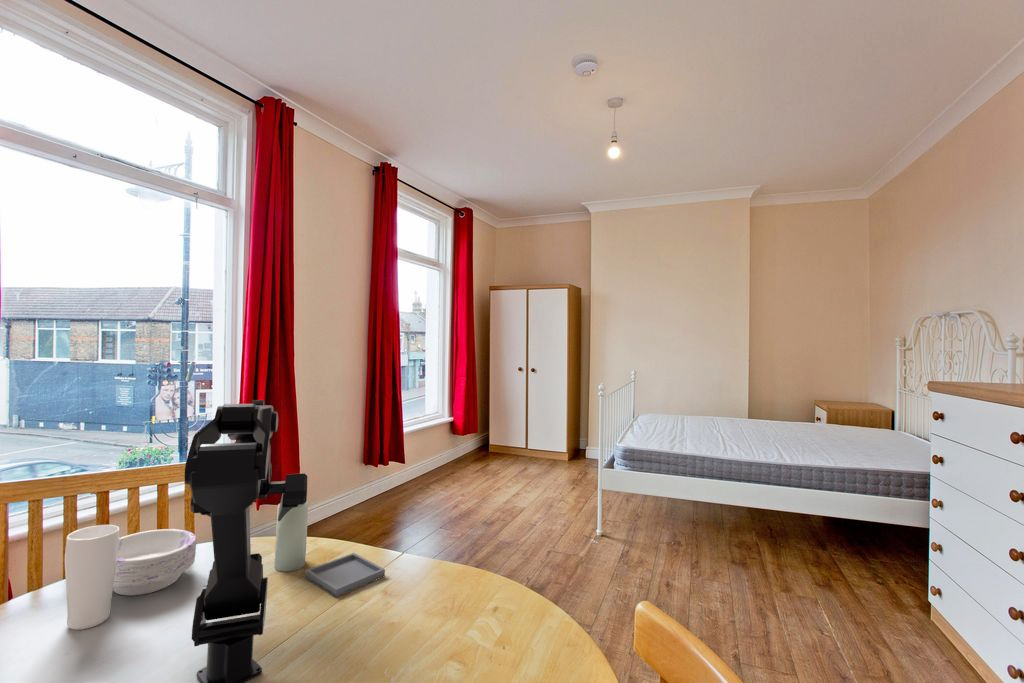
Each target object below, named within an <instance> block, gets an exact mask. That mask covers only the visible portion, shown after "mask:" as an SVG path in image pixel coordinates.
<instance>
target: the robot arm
mask: <svg viewBox="0 0 1024 683" xmlns="http://www.w3.org/2000/svg"><path fill="white" fill-rule="evenodd" d="M278 427H279V413H278V411H274V406H273V405H268V404H265V400H264V399H253V400H252V403H224V404H223V405H218V406H217V408H216V411H215V414H214V418H213V419H212V420H211V421H210V422H208V423H206V425H204V426H203V427H202V428H201V429H199V430H198V431H197V432H196V433H195V434H194V435H193V437H192V441H191V444H190V446H189V451H188V454H187V457H186V461H185V467H184V483H185V485H189V488H190V492H191V497H190V498H191V499H190V505H189V506H190V512H192V513H193V514H200V515H201V516H207V517H210V523H211V534H212V535H211V536H212V547H213V550H212V551H213V562H212V567H211V569H210V570H209V572H208V573H209V574H208V578H207V584H206V585H203V587H202V590H201V591H200V594H199V595H198V596H197V597H196V601H195V607H194V612H193V619H192V627H191V628H192V629H191V640H192V642H193V646H194V648H195V647H199V646H201V645H207V654H206V655H207V657H206V666H205V667H202V668H201V669H199V670H197V671H196V678H198V680H199V681H200V683H245V682H247V681H248V680H250V679H253V678H254V677H256V676H259V675H260V674H262V673H263V667H261V665H260V664H259V663H258V662H257V661H255V659H254V658H253V656H254V655H253V654H254V637H255V636H256V635H257V636H261V635H263V634H264V628H265V624H266V623H265V622H266V613H267V612H266V610H267V599H268V598H267V597H268V585H269V584H268V582H269V581H268V578H269V577H268V576H267V577H264V564H263V562H262V561H263V556H262V555H261V554H260V553H259V552H258V553H251V552H252V550H251V549H252V548H251V522H250V521H251V514H250V513H251V512H250V511H251V510H250V508H251V505H252V504H253V503H254V502H256V501H257V500H262V499H263V500H264V499H265V500H266V499H267V498H266V497H267V495H280V494H282V495H281V499H280V503H279V504H280V507H279V511H278V521H280V520H281V519H282V518H283V517H284V516H285V514H286V513H287V512H288V511H290V510H291V509H292V508H293V507H297V506H298V505H301V504H304V503H305V502H306V501H307V500H308V498H307V497H308V475H307V474H306V473H305V472H304V473H289V474H288V473H287V474H285V480H281V481H271V478H272V475H273V474H272V473H273V472H272V467H273V466H272V463H271V452H272V449H271V445H272V444H271V440H272V439H273V433H276V432H277V431H278ZM222 435H227V437H228V439H230V440H231V441H235V442H231V443H229V442H228V443H217V442H218V441H220V439H221V436H222ZM257 613H259V614H257ZM250 614H253V615H250ZM243 615H244V616H243ZM245 615H248V616H245ZM238 616H239V617H238ZM240 616H241V617H240ZM233 617H235V618H233ZM225 618H229V619H225ZM218 619H222V620H218ZM212 620H213V621H212ZM214 620H216V621H214ZM208 621H211V622H208Z"/></svg>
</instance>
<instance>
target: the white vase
mask: <svg viewBox="0 0 1024 683" xmlns="http://www.w3.org/2000/svg"><path fill="white" fill-rule="evenodd" d="M120 538H121V537H120V527H119V526H118V525H114V524H98V525H92V526H91V525H90V526H87V527H82V528H80V529H79V528H78V529H77V530H74V531H72V532H70V533H68V535H66V540H65V549H64V574H65V589H66V590H65V591H66V607H67V608H66V609H67V610H66V611H67V618H66V620H67V621H66V625H67V627H68V629H70V630H73V631H74V630H75V631H81V630H82V631H83V630H87V629H91V628H93V627H96V626H99V625H101V624H102V623H104V622H105V621H106V620H107V619H108V618H109V617H110V615H111V609H112V608H111V605H112V597H113V592H114V591H113V585H114V579H115V572H116V566H117V560H118V553H119V540H120Z"/></svg>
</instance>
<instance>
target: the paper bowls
mask: <svg viewBox="0 0 1024 683" xmlns="http://www.w3.org/2000/svg"><path fill="white" fill-rule="evenodd" d="M196 550H197V536H196V535H195V533H193V532H191V531H188V530H185V529H177V528H163V529H160V528H159V529H152V530H146V531H140V532H135V533H131V534H128V535H123V536H121V537H120V540H119V553H118V560H117V566H116V572H115V579H114V585H113V591H112V592H114V593H116V594H118V595H121V596H141V595H147V594H151V593H153V592H154V593H155V592H158V591H160V590H163V589H164V588H167V587H168V586H171V585H172V584H174V583H175V582H176V581H177V580H179V578H180V577H181V575H182V574H183V573H184V572H186V571H187V570H188V569H190V568H191V566H193V565H194V563H195V559H196V553H197V552H196ZM150 554H151V555H150Z"/></svg>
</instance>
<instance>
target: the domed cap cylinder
mask: <svg viewBox="0 0 1024 683" xmlns="http://www.w3.org/2000/svg"><path fill="white" fill-rule="evenodd" d="M279 507H280V503H278V505H277V510H276V512H277V514H276V529H275V530H276V534H275V550H274V569H275V570H276V571H278V572H286V573H287V572H293V571H296V570H299V569H301V568H303V567H304V566H305V565H306V558H307V556H306V554H307V539H308V538H307V537H308V536H307V535H308V519H309V517H308V516H309V501H307V500H306V502H305V503H304V504H301V505H298V506H297V507H293V508H292V509H291V510H290V511H288V512H287V513H286V514H285V516H284V517H283V518H282V519H281V520H280V521H278V511H279Z"/></svg>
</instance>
